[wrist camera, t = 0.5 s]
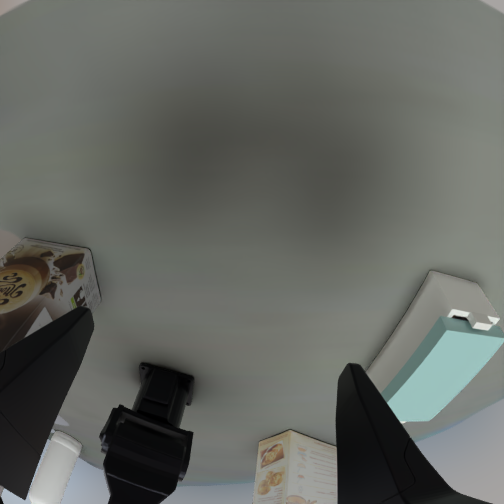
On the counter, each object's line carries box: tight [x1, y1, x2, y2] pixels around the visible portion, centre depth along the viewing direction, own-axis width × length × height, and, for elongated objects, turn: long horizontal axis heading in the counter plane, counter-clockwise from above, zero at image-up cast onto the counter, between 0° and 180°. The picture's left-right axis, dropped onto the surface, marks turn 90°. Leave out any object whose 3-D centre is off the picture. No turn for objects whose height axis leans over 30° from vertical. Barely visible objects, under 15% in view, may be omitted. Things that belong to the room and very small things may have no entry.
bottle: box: [29, 431, 82, 504], centre depth 45 cm, size 8×8×30 cm
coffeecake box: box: [252, 430, 337, 504], centre depth 33 cm, size 15×7×20 cm, turn 51°
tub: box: [366, 270, 500, 423], centre depth 24 cm, size 14×6×6 cm, turn 168°
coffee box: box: [0, 238, 101, 352], centre depth 20 cm, size 9×6×16 cm
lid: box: [381, 316, 504, 421], centre depth 22 cm, size 12×7×2 cm, turn 168°
